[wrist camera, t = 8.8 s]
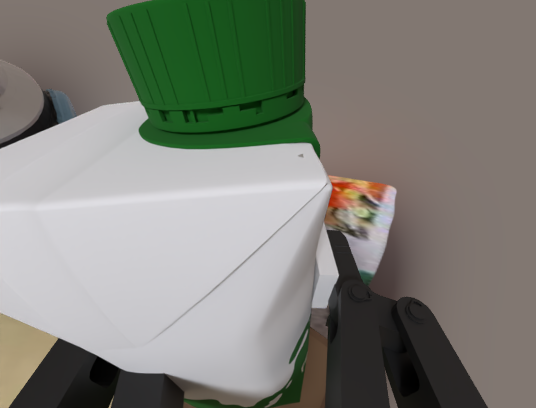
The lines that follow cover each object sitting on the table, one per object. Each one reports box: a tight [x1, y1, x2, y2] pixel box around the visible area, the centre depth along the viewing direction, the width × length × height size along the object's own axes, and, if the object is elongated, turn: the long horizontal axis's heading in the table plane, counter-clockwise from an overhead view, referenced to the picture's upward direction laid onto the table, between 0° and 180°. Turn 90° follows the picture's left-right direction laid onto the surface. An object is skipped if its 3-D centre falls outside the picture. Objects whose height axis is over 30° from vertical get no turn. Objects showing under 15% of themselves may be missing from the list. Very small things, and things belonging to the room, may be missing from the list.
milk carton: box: [0, 0, 332, 408], centre depth 11 cm, size 9×9×20 cm
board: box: [183, 327, 328, 408], centre depth 21 cm, size 13×13×2 cm
